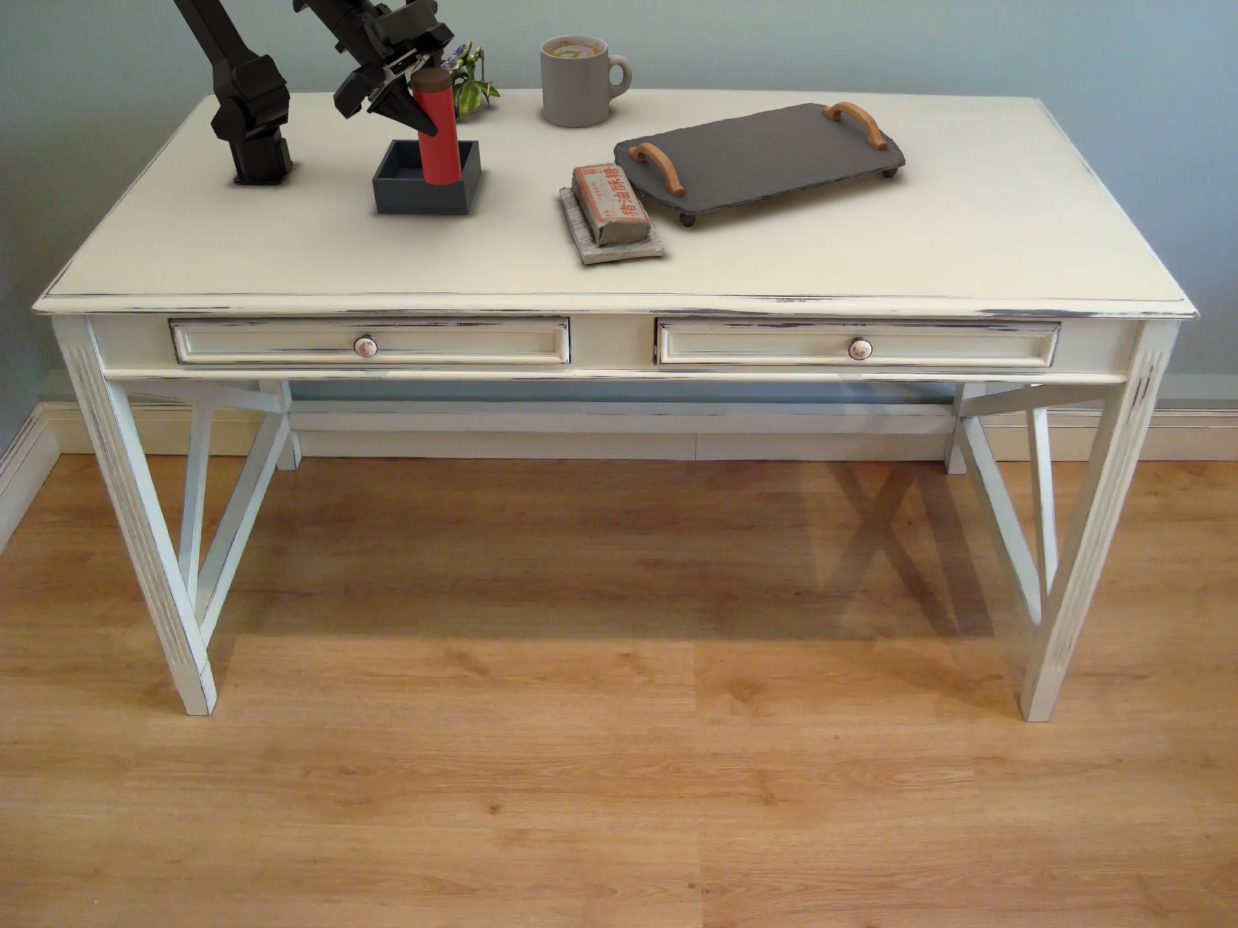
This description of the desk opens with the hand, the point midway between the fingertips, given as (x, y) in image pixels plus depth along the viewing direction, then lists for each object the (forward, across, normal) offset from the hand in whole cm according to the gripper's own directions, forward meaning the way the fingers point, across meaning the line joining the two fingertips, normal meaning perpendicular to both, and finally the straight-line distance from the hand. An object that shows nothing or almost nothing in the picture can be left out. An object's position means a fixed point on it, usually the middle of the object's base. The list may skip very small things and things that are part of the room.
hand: (446, 126), depth 121 cm
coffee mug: (+10, +38, +9) cm, 40 cm away
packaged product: (+22, +7, -4) cm, 23 cm away
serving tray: (+30, +28, -13) cm, 44 cm away
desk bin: (+4, +6, +15) cm, 16 cm away
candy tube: (+4, 0, +6) cm, 7 cm away
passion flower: (-3, +33, +22) cm, 40 cm away
